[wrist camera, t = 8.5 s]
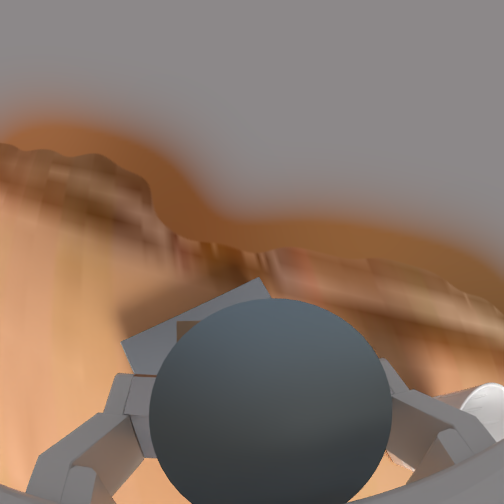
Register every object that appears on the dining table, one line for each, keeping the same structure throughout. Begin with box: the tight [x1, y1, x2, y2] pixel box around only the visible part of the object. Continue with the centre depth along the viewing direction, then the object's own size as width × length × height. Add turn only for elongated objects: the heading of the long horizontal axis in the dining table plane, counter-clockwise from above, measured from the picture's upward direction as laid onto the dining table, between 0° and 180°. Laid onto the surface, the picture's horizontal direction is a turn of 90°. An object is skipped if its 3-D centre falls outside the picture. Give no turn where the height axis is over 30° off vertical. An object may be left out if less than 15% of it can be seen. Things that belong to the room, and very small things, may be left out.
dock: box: [121, 277, 272, 375], centre depth 23 cm, size 14×12×3 cm
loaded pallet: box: [149, 298, 392, 504], centre depth 9 cm, size 7×5×8 cm
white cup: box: [387, 383, 504, 472], centre depth 19 cm, size 8×8×10 cm
